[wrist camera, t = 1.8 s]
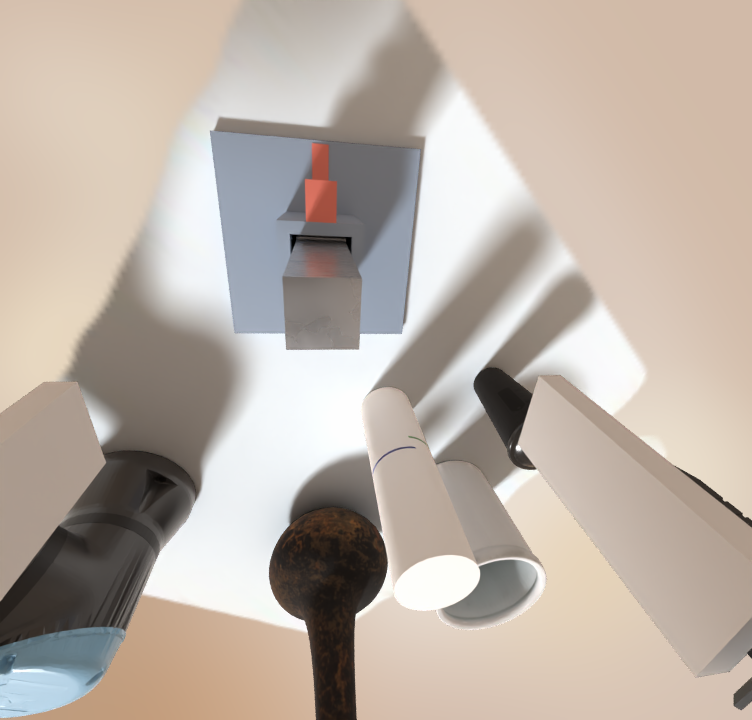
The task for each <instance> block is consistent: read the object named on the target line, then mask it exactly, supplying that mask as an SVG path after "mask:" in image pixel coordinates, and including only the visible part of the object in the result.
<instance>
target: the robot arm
mask: <svg viewBox="0 0 752 720" xmlns="http://www.w3.org/2000/svg"><path fill="white" fill-rule="evenodd" d="M518 445H519V446H520V448H521V449H522V450H523V452H524V453H525V454H526V455H527V457H528V458H529V459H530V461H531V462H532V463H533V465H534V466H535V467H536V469H537V470H538V471H539V473H540V474H541V475H542V477H543V478H544V479H545V480H546V482H547V483H548V484H549V486H550V487H551V488H552V490H553V491H554V492H555V494H556V495H557V496H558V497H559V499H560V500H561V501H562V503H563V504H564V505H565V507H566V508H567V509H568V511H569V512H570V513H571V515H572V516H573V517H574V519H575V520H576V521H577V523H578V524H579V525H580V526H581V528H582V529H583V530H584V532H585V533H586V534H587V536H588V537H589V538H590V540H591V541H592V542H593V544H594V545H595V546H596V548H597V549H598V550H599V551H600V553H601V554H602V555H603V557H604V558H605V559H606V561H607V562H608V563H609V565H610V566H611V567H612V569H613V570H614V571H615V572H616V574H617V575H618V576H619V578H620V579H621V580H622V582H623V583H624V584H625V586H626V587H627V588H628V590H629V591H630V592H631V594H632V595H633V596H634V598H635V599H636V600H637V601H638V603H639V604H640V605H641V607H642V608H643V609H644V611H645V612H646V613H647V615H648V616H649V617H650V618H651V620H652V621H653V622H654V624H655V625H656V626H657V628H658V629H659V630H660V632H661V633H662V634H663V636H664V637H665V638H666V640H667V641H668V642H669V644H670V645H671V646H672V647H673V649H674V650H675V651H676V653H677V654H678V655H679V657H680V658H681V659H682V661H683V662H684V663H685V665H686V666H687V667H688V669H689V670H690V671H691V672H692V674H693V675H694V676H695V677H702V676H708V675H714V674H720V673H725V672H730V671H731V670H732V669H733V668H734V667H735V666H736V665H737V664H738V663H739V662H740V661H741V660H742V659H743V658H744V657H745V656H746V655H747V654H748V655H749V656H750V657H751V658H752V520H751V519H749V518H748V517H746V518H745V517H743V515H742V513H741V512H740V511H739V510H738V509H736V508H735V507H734V506H733V505H731V504H730V503H729V502H724V501H723V498H722V497H721V496H720V495H718V494H717V493H716V492H715V491H713V490H712V489H711V488H709V487H708V486H707V485H706V484H704V483H703V482H702V481H701V480H699V479H697V478H696V477H694V476H692V475H690V474H688V473H687V472H685V471H683V470H681V469H680V468H678V467H676V466H674V465H672V464H671V463H670V462H669V461H667V460H666V459H665V458H664V457H662V456H661V455H660V454H659V453H657V452H656V451H655V450H654V449H652V448H651V447H650V446H649V445H647V444H646V443H645V442H644V441H642V440H641V439H640V438H639V437H637V436H636V435H635V434H634V433H632V432H631V431H630V430H628V429H627V428H626V427H625V426H623V425H622V424H621V423H620V422H618V421H617V420H616V419H615V418H613V417H612V416H611V415H610V414H608V413H607V412H606V411H605V410H603V409H602V408H601V407H600V406H598V405H597V404H596V403H595V402H593V401H592V400H591V399H590V398H588V397H587V396H586V395H585V394H583V393H582V392H581V391H580V390H578V389H577V388H576V387H575V386H573V385H572V384H571V383H570V382H568V381H567V380H566V379H564V378H563V377H562V376H561V375H543V376H538V379H537V383H536V386H535V389H534V392H533V396H532V399H531V402H530V406H529V409H528V412H527V415H526V419H525V422H524V425H523V428H522V432H521V435H520V438H519V441H518ZM195 498H196V491H195V487H194V484H193V482H192V480H191V478H190V477H189V475H188V474H187V473H186V472H185V471H184V470H183V469H182V468H181V467H179V466H178V465H176V464H175V463H173V462H172V461H170V460H168V459H166V458H163V457H161V456H158V455H155V454H151V453H146V452H139V451H120V452H114V453H109V454H106V455H103V452H102V450H101V447H100V444H99V441H98V438H97V436H96V433H95V430H94V427H93V424H92V421H91V419H90V416H89V413H88V410H87V407H86V405H85V402H84V399H83V396H82V393H81V390H80V388H79V385H78V382H43V383H42V384H41V385H39V386H38V387H36V388H35V389H34V390H32V391H31V392H29V393H28V394H27V395H25V396H24V397H22V398H21V399H20V400H18V401H17V402H16V403H14V404H13V405H11V406H10V407H9V408H7V409H6V410H5V411H3V412H2V413H0V718H8V717H19V716H25V715H31V714H37V713H41V712H46V711H49V710H53V709H56V708H59V707H61V706H64V705H67V704H69V703H71V702H74V701H75V700H77V699H79V698H81V697H82V696H84V695H86V694H87V693H88V692H90V691H91V690H92V689H93V688H94V687H95V686H96V685H97V684H98V683H99V682H100V681H101V679H102V678H103V677H104V675H105V673H106V672H107V670H108V668H109V666H110V664H111V662H112V660H113V658H114V656H115V654H116V652H117V650H118V648H119V646H120V644H121V643H122V642H123V641H124V639H125V636H126V630H127V628H128V626H129V623H130V621H131V618H132V616H133V614H134V611H135V609H136V607H137V604H138V602H139V599H140V597H141V595H142V592H143V590H144V588H145V585H146V583H147V581H148V578H149V576H150V573H151V571H152V569H153V566H154V564H155V561H156V559H157V557H158V555H159V553H160V551H161V550H162V548H163V547H164V546H165V545H166V544H167V543H168V542H169V540H170V539H171V538H172V537H173V536H174V535H175V533H176V532H177V531H178V530H179V528H180V527H181V526H182V525H183V524H184V523H185V522H186V520H187V519H188V517H189V515H190V513H191V510H192V507H193V505H194V502H195ZM751 701H752V678H750V679H749V680H748V681H747V682H746V683H745V684H744V685H743V686H742V687H741V688H740V689H739V690H738V691H737V692H736V693H735V694H734V706H735V707H736V708H738V709H740V710H742V709H744V708H745V707H746V706H747V705H748V704H749V703H750V702H751Z"/></svg>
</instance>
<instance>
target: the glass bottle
mask: <svg viewBox="0 0 752 720" xmlns="http://www.w3.org/2000/svg"><path fill="white" fill-rule="evenodd" d="M387 566H388V558H387V553H386V547H385V543H384V541H383V539H382V537H381V535H380V533H379V531H378V530H377V528H376V527H375V526H374V525H373V524H372V523H371V522H370V521H369V520H368V519H366V518H365V517H363V516H362V515H360V514H358V513H357V512H354V511H352V510H349V509H345V508H338V507H328V508H322V509H318V510H314V511H311V512H309V513H307V514H304V515H303V516H301V517H300V518H298V519H297V520H296V521H295V522H293V523H292V524H291V525H290V526H289V527H288V528H287V529H286V530H285V531H284V533H283V534H282V535H281V537H280V539H279V540H278V542H277V544H276V546H275V548H274V551H273V554H272V556H271V561H270V567H269V580H270V585H271V589H272V592H273V594H274V596H275V598H276V600H277V601H278V603H279V604H280V605H281V607H282V608H283V609H284V610H286V611H287V612H288V613H289V614H291V615H292V616H294V617H296V618H299V619H301V620H305V623H306V626H307V630H308V635H309V640H310V648H311V655H312V665H313V676H314V691H315V707H316V708H315V709H316V720H357V719H356V695H355V667H354V666H355V664H354V628H355V616H356V613H358V612H359V611H361V610H362V609H364V608H365V607H366V606H368V605H369V604H370V603H371V602H372V601H373V600H374V598H375V597H376V596H377V594H378V593H379V591H380V589H381V587H382V585H383V583H384V580H385V577H386V573H387Z"/></svg>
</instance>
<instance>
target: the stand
mask: <svg viewBox="0 0 752 720" xmlns="http://www.w3.org/2000/svg"><path fill="white" fill-rule="evenodd" d="M210 135H211V144H212V152H213V160H214V168H215V176H216V184H217V192H218V201H219V209H220V217H221V225H222V233H223V241H224V250H225V258H226V266H227V274H228V282H229V290H230V298H231V307H232V315H233V323H234V331H235V333H285V318H284V299H283V281H282V276H283V273H284V271H285V268H286V266H287V263H288V261H289V258H290V256H291V253H292V250H293V248H294V245H295V243H296V236H298V235H320V236H341V237H344V238H345V239H346V244H347V247H348V249H349V251H350V253H351V255H352V258H353V260H354V262H355V264H356V266H357V268H358V271H359V273H360V275H361V277H362V294H361V316H360V334H402V328H403V319H404V309H405V299H406V289H407V279H408V270H409V260H410V250H411V240H412V230H413V221H414V211H415V201H416V191H417V181H418V172H419V162H420V152H421V149H412V148H401V147H389V146H378V145H367V144H355V143H344V142H333V141H322V140H310V139H299V138H288V137H277V136H265V135H254V134H243V133H232V132H220V131H210ZM297 234H298V235H297Z"/></svg>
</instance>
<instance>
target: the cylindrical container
mask: <svg viewBox="0 0 752 720" xmlns="http://www.w3.org/2000/svg"><path fill="white" fill-rule="evenodd" d="M361 416H362V422H363V427H364V433H365V438H366V444H367V449H368V455H369V460H370V465H371V471H372V476H373V482H374V487H375V493H376V498H377V504H378V509H379V515H380V520H381V525H382V531H383V536H384V542H385V547H386V553H387V558H388V564H389V569H390V575H391V580H392V585H393V591H394V595H395V598H396V600H397V601H398V602H399V603H400V604H401V605H403V606H404V607H406V608H409V609H413V610H421V611H428V610H436V609H441V608H444V607H448V606H450V605H452V604H455V603H457V602H458V601H460V600H462V599H463V598H465V597H466V596H468V595H469V594H470V593H471V592H472V591H473V590H474V588H475V587H476V586H477V584H478V582H479V579H480V569H479V567H478V565H477V562H476V560H475V557H474V555H473V553H472V550H471V548H470V545H469V543H468V540H467V538H466V536H465V533H464V531H463V528H462V526H461V524H460V521H459V519H458V516H457V514H456V512H455V509H454V507H453V504H452V502H451V500H450V497H449V495H448V492H447V490H446V488H445V485H444V483H443V480H442V478H441V476H440V473H439V471H438V468H437V466H436V464H435V461H434V459H433V457H432V454H431V452H430V450H429V447H428V445H427V442H426V440H425V438H424V435H423V433H422V430H421V428H420V425H419V423H418V421H417V418H416V416H415V413H414V411H413V409H412V406H411V404H410V401H409V399H408V397H407V396H406V394H405V393H404V392H402V391H401V390H399V389H397V388H393V387H382V388H379V389H376V390H374V391H372V392H371V393H369V394H368V395H367V396H366V397H365V399H364V400H363V402H362V405H361Z"/></svg>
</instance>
